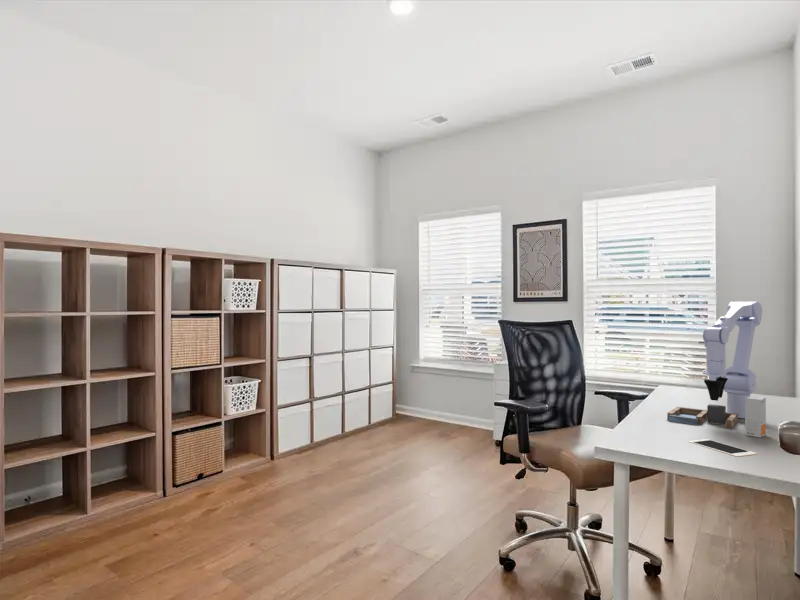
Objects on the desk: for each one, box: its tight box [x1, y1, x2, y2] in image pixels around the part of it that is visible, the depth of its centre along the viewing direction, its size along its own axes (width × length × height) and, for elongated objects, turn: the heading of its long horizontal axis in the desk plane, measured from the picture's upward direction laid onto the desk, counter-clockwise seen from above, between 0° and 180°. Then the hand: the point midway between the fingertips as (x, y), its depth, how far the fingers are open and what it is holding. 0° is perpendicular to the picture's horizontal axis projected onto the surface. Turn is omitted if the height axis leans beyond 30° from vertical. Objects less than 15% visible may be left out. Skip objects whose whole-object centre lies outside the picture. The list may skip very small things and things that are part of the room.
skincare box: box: [744, 395, 767, 438], centre depth 157 cm, size 6×4×12 cm
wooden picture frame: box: [666, 406, 739, 429], centre depth 177 cm, size 17×20×2 cm
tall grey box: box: [706, 403, 727, 426], centre depth 174 cm, size 4×5×6 cm
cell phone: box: [687, 438, 758, 458], centre depth 143 cm, size 8×16×1 cm, turn 16°
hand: (716, 398), depth 175 cm, fingers open, 7 cm apart
